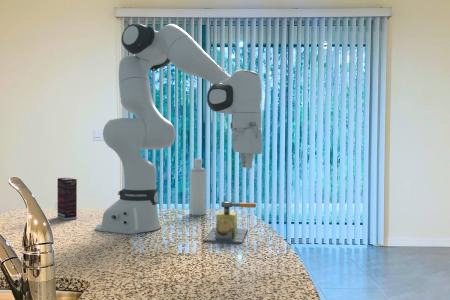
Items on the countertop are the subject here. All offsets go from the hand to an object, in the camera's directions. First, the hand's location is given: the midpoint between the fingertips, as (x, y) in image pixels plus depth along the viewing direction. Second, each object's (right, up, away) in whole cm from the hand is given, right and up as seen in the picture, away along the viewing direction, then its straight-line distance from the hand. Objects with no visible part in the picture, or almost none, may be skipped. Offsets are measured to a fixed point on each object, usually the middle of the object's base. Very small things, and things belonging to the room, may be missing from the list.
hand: (246, 167), depth 119 cm
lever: (-2, -13, +7) cm, 15 cm away
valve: (-6, -23, +8) cm, 25 cm away
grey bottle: (-18, -22, +46) cm, 54 cm away
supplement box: (-70, -22, +35) cm, 81 cm away
